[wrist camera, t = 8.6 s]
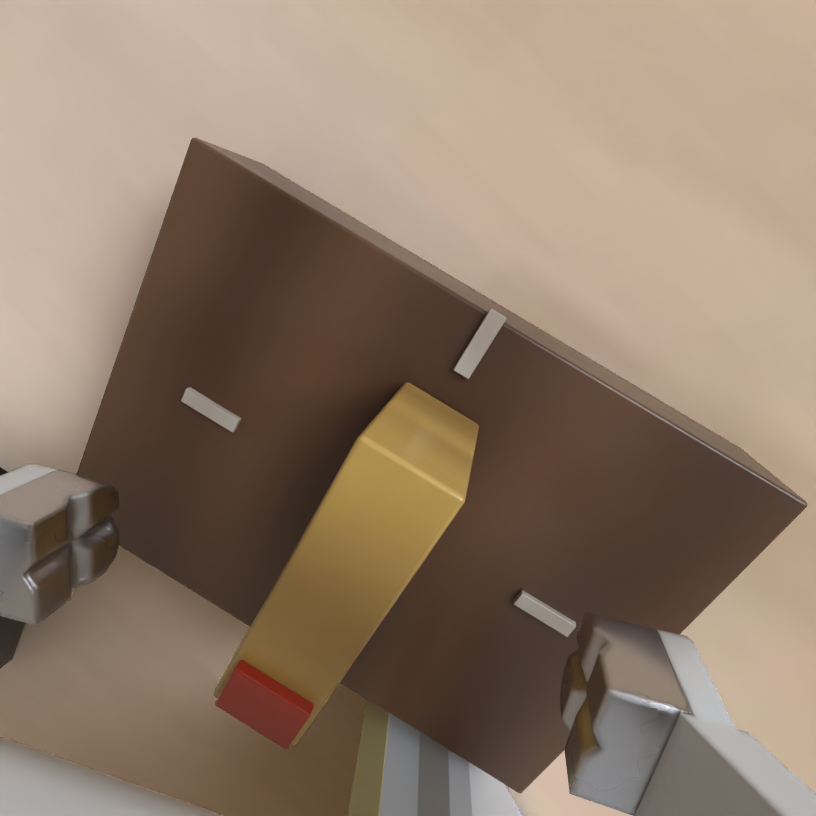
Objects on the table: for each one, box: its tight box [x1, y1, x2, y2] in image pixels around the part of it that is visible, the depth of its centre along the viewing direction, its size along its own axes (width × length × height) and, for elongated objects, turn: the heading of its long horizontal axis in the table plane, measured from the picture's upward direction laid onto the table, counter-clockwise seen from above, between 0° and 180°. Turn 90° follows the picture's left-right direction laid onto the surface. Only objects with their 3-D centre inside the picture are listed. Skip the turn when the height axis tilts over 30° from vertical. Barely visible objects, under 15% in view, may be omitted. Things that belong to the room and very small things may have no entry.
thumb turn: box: [214, 382, 479, 749], centre depth 10 cm, size 6×2×4 cm, turn 151°
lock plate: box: [77, 138, 807, 793], centre depth 13 cm, size 14×10×3 cm
